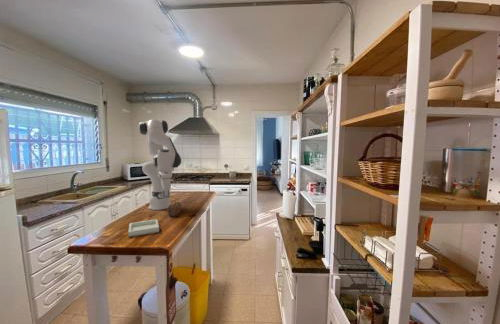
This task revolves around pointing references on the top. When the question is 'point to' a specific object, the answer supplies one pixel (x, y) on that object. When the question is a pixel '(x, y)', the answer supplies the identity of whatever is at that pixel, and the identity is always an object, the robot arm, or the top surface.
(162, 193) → the matte grey cube
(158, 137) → the robot arm
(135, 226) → the dish
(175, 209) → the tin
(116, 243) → the top surface
